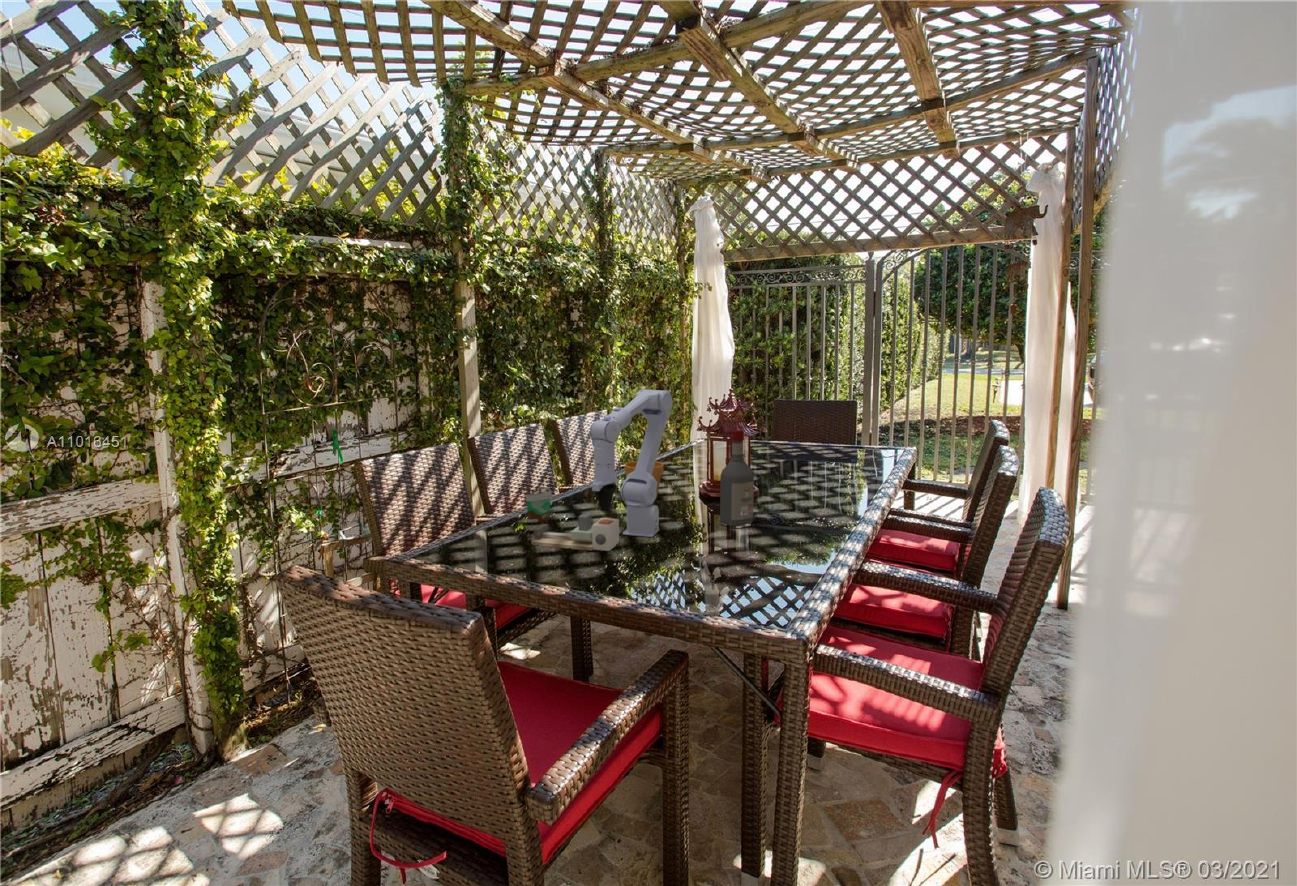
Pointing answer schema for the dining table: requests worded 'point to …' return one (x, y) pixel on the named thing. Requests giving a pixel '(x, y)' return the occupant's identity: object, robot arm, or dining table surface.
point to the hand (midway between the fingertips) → (605, 510)
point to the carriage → (583, 529)
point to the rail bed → (558, 539)
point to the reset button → (605, 521)
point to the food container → (538, 505)
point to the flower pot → (656, 472)
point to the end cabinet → (605, 535)
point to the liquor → (736, 486)
